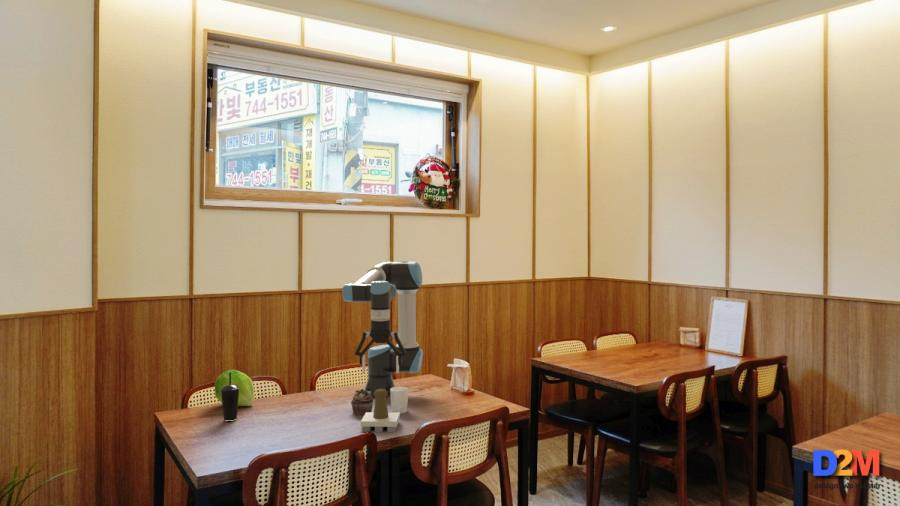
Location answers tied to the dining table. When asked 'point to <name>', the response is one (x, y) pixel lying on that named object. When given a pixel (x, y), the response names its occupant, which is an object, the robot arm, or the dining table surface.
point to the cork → (380, 404)
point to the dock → (380, 422)
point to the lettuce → (240, 380)
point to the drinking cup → (230, 400)
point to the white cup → (399, 399)
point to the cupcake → (362, 402)
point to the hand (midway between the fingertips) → (380, 372)
